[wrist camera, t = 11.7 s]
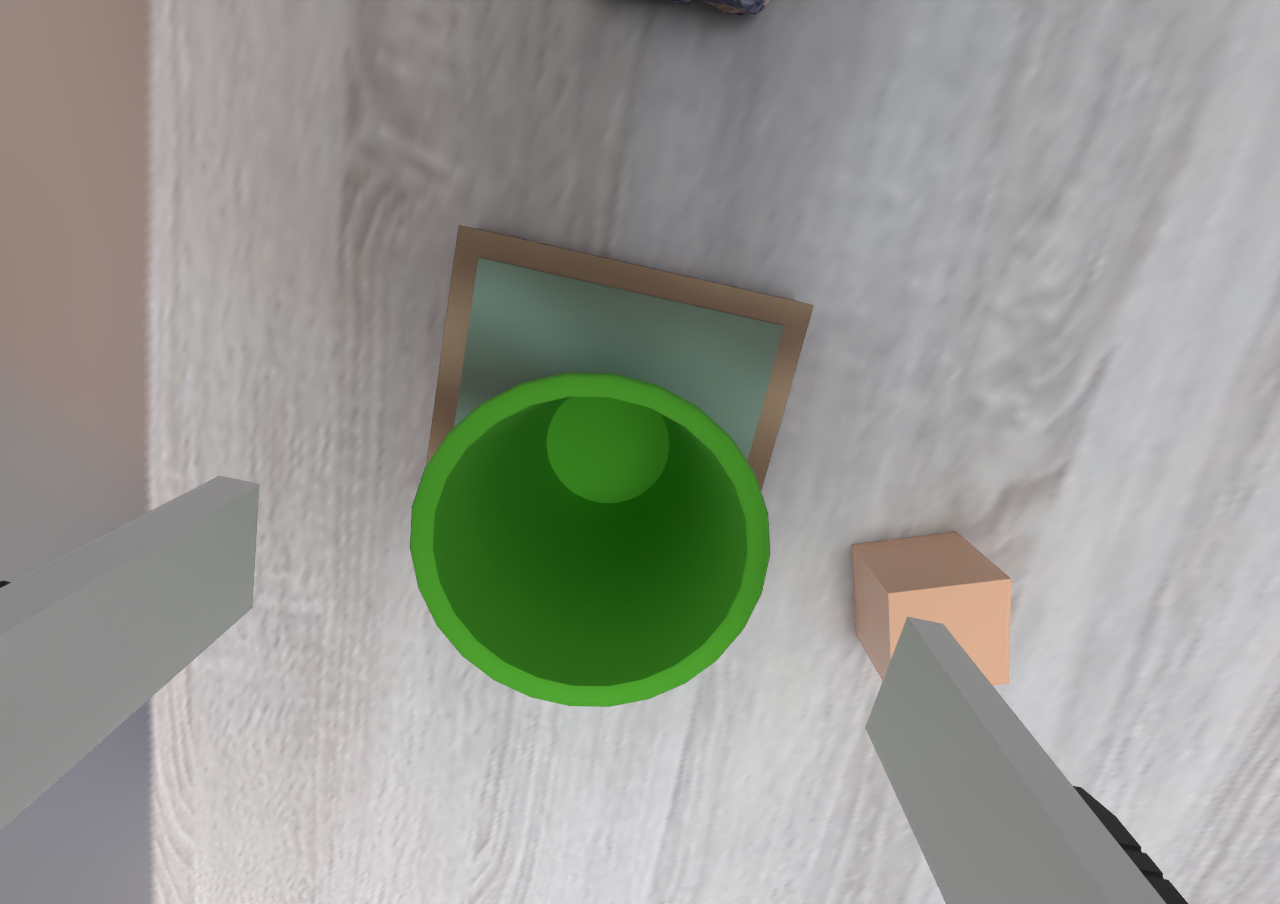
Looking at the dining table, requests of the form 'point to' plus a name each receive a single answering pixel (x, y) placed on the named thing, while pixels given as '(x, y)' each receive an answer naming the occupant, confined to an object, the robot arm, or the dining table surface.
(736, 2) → the rock
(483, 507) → the cup
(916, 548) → the terracotta block
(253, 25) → the dining table surface
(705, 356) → the tray
